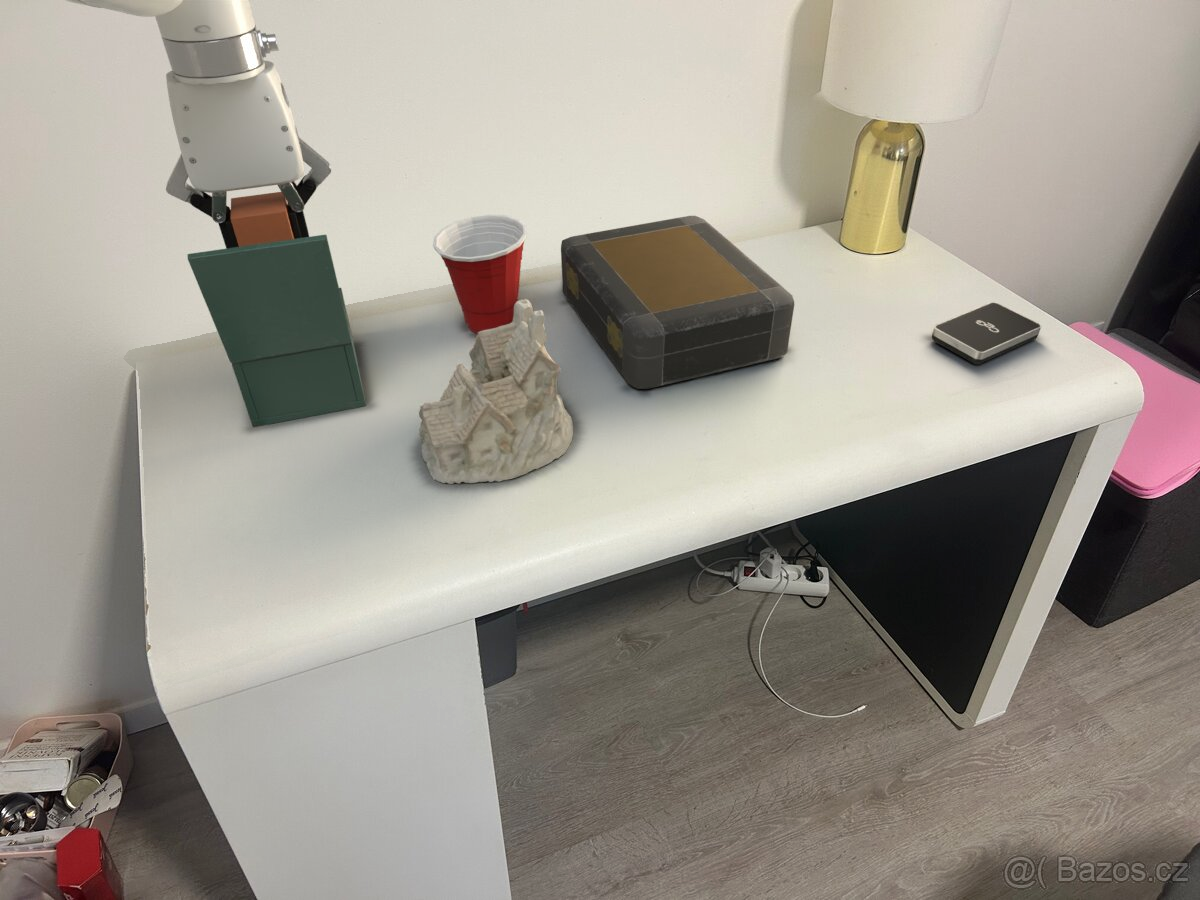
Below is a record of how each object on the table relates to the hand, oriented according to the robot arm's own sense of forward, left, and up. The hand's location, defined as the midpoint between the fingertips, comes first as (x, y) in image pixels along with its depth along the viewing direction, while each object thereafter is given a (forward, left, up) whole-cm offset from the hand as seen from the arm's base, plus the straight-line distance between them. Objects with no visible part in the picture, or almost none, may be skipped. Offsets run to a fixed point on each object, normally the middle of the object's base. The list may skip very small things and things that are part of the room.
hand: (270, 248), depth 84 cm
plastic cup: (+22, +6, -16) cm, 28 cm away
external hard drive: (+76, -17, -16) cm, 79 cm away
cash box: (+43, -1, -16) cm, 46 cm away
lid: (0, -8, -2) cm, 8 cm away
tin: (0, 0, -16) cm, 16 cm away
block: (0, 0, 0) cm, 0 cm away
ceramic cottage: (+18, -15, -16) cm, 29 cm away
